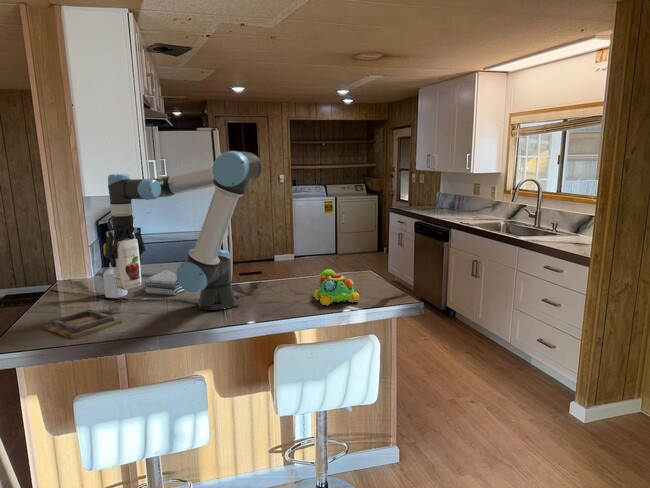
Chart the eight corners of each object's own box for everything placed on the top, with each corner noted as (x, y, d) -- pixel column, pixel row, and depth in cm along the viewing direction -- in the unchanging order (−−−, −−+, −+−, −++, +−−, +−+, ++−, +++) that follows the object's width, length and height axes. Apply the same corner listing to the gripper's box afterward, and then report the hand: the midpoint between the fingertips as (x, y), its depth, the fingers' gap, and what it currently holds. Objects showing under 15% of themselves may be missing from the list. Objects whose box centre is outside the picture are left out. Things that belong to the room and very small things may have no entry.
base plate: (122, 322, 164) (121, 315, 163) (73, 339, 149) (72, 331, 148) (93, 314, 173) (92, 307, 173) (44, 328, 158) (43, 321, 158)
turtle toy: (341, 290, 205) (341, 265, 203) (363, 305, 184) (363, 277, 182) (306, 294, 200) (306, 268, 198) (324, 310, 178) (324, 281, 176)
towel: (144, 295, 199) (142, 278, 197) (165, 284, 217) (164, 268, 215) (176, 297, 196) (175, 279, 195) (195, 285, 214) (194, 269, 213)
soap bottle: (119, 299, 192) (114, 242, 188) (100, 297, 194) (95, 241, 190) (132, 293, 201) (127, 238, 197) (114, 291, 203) (109, 238, 199)
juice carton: (113, 288, 176) (108, 240, 172) (133, 283, 183) (128, 237, 179) (124, 291, 172) (119, 241, 168) (144, 285, 179) (140, 238, 175)
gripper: (140, 211, 183) (144, 266, 187) (89, 217, 165) (96, 277, 169) (152, 212, 179) (156, 267, 183) (101, 218, 161) (108, 279, 165)
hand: (127, 272), depth 176 cm, fingers closed on juice carton, 9 cm apart
